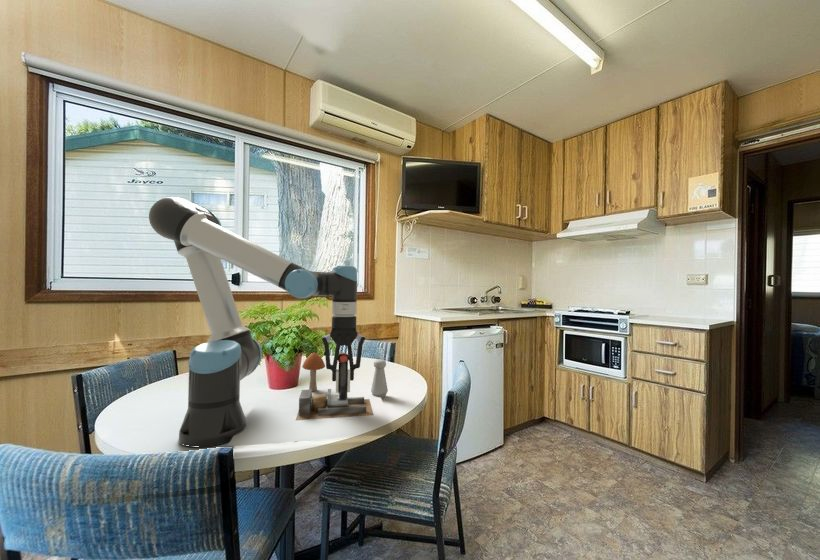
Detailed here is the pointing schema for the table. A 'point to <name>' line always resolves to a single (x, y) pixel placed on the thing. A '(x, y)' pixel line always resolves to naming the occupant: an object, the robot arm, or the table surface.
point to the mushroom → (313, 368)
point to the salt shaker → (379, 379)
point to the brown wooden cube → (319, 402)
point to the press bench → (355, 408)
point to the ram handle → (340, 384)
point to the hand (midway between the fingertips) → (342, 390)
